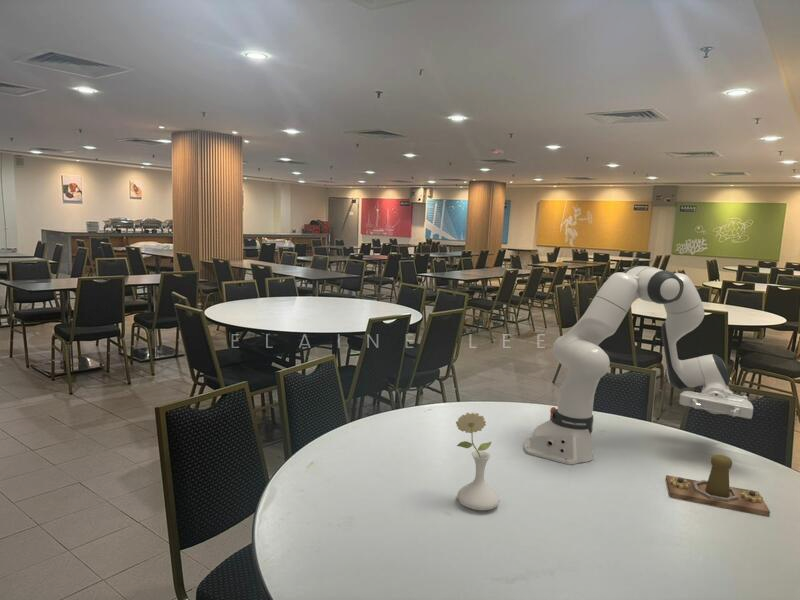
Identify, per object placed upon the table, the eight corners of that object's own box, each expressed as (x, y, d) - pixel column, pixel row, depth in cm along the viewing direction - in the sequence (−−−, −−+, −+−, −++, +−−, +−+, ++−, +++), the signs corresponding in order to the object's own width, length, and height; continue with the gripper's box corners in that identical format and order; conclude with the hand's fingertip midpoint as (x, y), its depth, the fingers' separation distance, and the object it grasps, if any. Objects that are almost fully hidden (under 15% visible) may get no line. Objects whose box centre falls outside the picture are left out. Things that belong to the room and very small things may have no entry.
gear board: (670, 497, 152) (671, 485, 152) (665, 479, 163) (667, 468, 163) (769, 516, 144) (771, 503, 144) (757, 496, 155) (759, 484, 155)
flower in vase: (502, 498, 148) (508, 410, 145) (495, 518, 137) (502, 424, 134) (456, 488, 152) (461, 403, 149) (446, 508, 141) (451, 416, 138)
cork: (731, 500, 149) (736, 462, 148) (707, 495, 151) (711, 458, 150) (727, 490, 155) (731, 454, 153) (703, 486, 157) (707, 450, 155)
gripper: (681, 383, 182) (678, 393, 171) (753, 397, 172) (755, 407, 160) (679, 401, 183) (675, 412, 171) (750, 416, 173) (751, 428, 161)
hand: (714, 410), depth 166 cm, fingers open, 8 cm apart
